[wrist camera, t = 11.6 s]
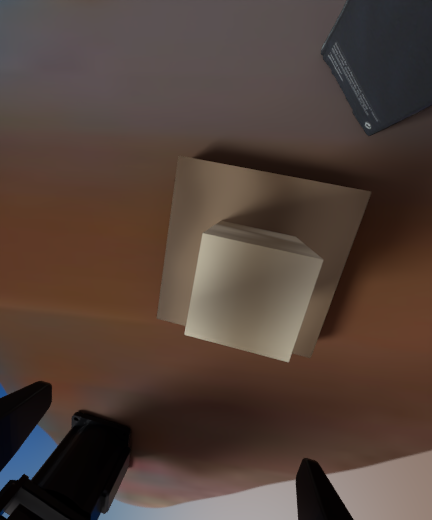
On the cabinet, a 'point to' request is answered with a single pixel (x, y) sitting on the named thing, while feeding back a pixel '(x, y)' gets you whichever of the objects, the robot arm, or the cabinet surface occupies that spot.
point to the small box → (382, 59)
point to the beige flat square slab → (262, 217)
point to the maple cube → (251, 289)
